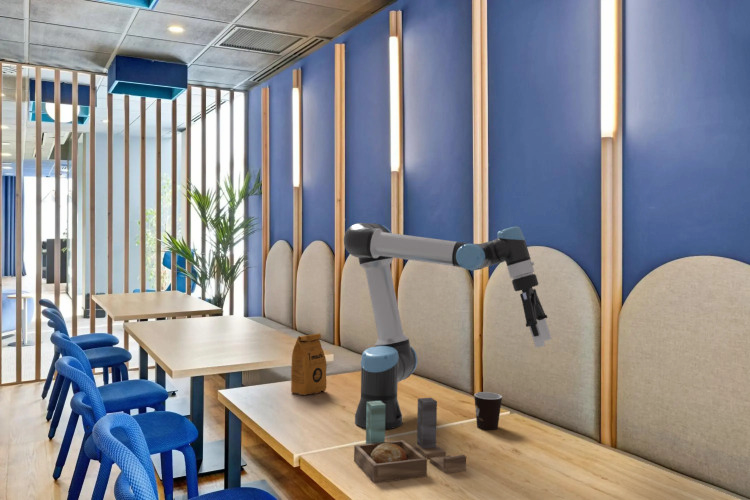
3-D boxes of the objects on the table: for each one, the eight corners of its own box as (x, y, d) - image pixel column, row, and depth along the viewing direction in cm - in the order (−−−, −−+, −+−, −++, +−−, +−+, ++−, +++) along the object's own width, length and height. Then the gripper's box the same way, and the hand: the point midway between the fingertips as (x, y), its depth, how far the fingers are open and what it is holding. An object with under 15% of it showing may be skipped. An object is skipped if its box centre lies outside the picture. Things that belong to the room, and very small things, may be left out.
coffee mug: (501, 432, 188) (502, 400, 187) (472, 430, 189) (473, 398, 189) (501, 421, 199) (502, 390, 199) (474, 419, 201) (475, 389, 200)
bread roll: (370, 476, 160) (358, 450, 159) (403, 456, 164) (391, 430, 163) (384, 490, 151) (371, 461, 150) (418, 468, 154) (406, 440, 153)
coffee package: (330, 392, 231) (331, 334, 230) (303, 398, 222) (304, 337, 222) (313, 387, 238) (314, 331, 238) (287, 392, 230) (288, 334, 229)
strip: (429, 462, 161) (430, 449, 161) (449, 459, 164) (449, 446, 164) (445, 473, 154) (446, 459, 154) (465, 470, 157) (466, 456, 157)
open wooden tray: (348, 454, 166) (349, 403, 166) (395, 449, 171) (396, 399, 171) (373, 483, 147) (375, 425, 147) (426, 476, 152) (427, 420, 152)
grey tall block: (413, 448, 172) (414, 398, 172) (432, 446, 174) (433, 397, 174) (425, 458, 165) (426, 406, 164) (445, 455, 167) (446, 404, 166)
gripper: (527, 274, 176) (550, 346, 174) (541, 271, 199) (561, 334, 197) (502, 281, 179) (524, 352, 177) (518, 277, 202) (538, 340, 200)
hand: (543, 343), depth 187 cm, fingers open, 13 cm apart
